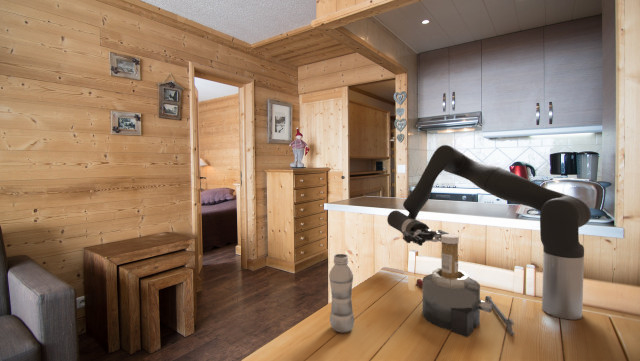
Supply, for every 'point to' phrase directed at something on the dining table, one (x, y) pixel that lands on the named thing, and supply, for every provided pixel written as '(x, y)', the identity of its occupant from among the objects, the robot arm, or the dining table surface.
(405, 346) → the dining table surface
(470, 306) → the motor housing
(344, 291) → the plastic bottle
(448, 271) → the spice jar
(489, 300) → the combination wrench
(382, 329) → the dining table surface
